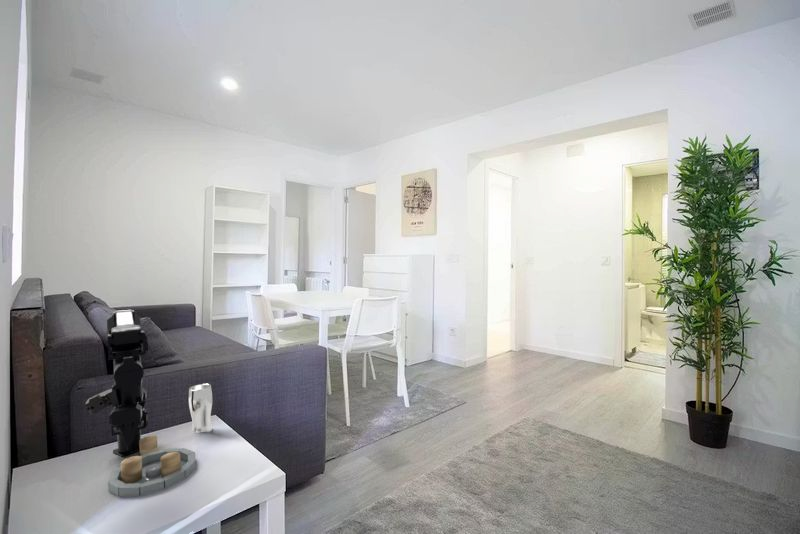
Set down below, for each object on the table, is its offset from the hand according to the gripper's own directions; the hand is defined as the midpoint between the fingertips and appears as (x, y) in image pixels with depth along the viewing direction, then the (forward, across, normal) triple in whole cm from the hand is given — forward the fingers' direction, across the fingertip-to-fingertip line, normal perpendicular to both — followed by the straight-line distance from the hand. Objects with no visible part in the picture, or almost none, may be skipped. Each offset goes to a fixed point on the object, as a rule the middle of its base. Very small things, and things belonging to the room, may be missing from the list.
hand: (130, 437), depth 98 cm
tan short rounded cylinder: (+11, +3, +9) cm, 14 cm away
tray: (+12, 0, +5) cm, 13 cm away
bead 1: (+11, 0, 0) cm, 11 cm away
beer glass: (+12, -24, +17) cm, 32 cm away
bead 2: (+12, -15, +3) cm, 19 cm away
